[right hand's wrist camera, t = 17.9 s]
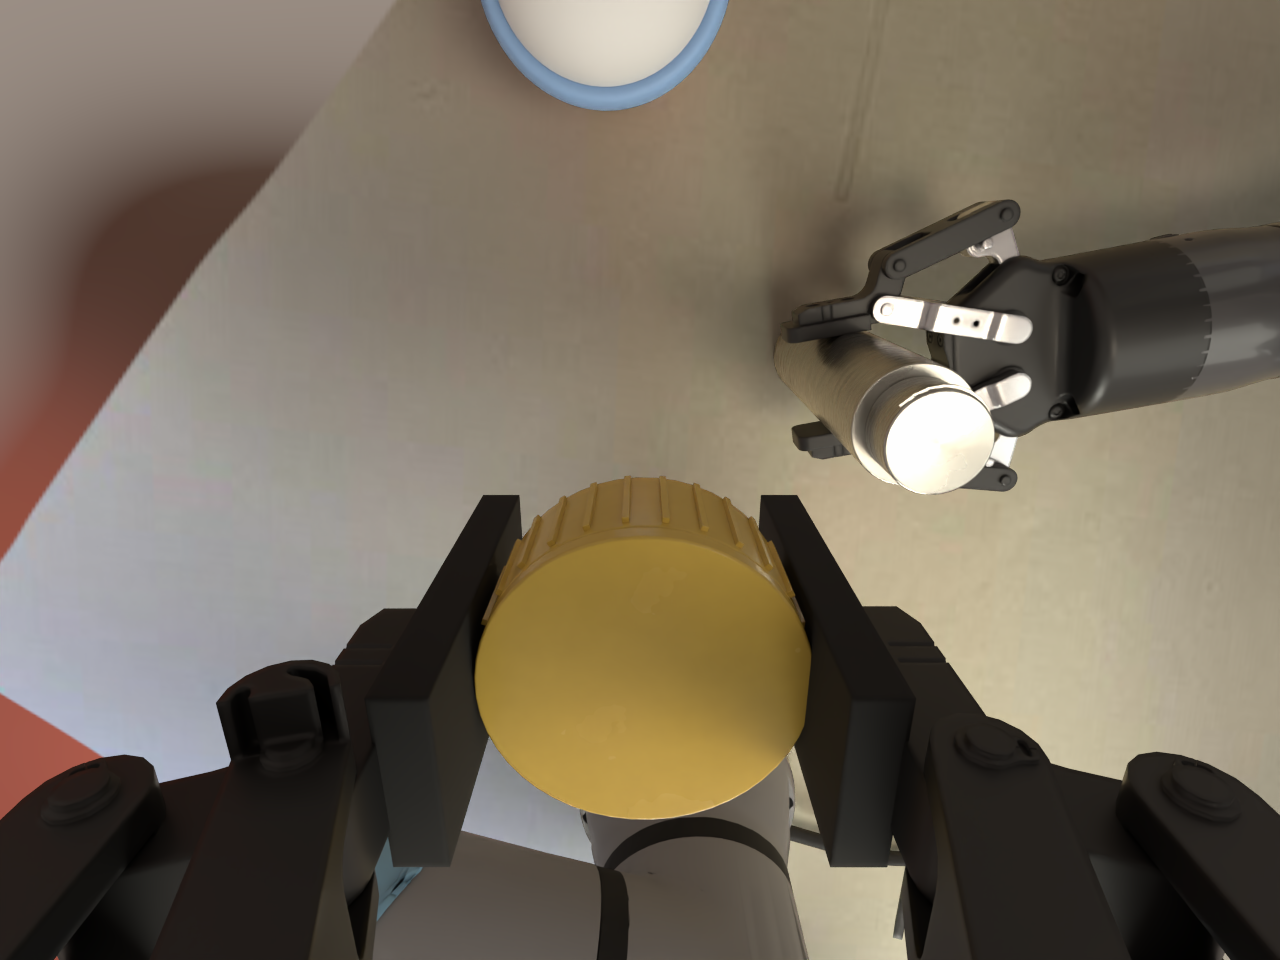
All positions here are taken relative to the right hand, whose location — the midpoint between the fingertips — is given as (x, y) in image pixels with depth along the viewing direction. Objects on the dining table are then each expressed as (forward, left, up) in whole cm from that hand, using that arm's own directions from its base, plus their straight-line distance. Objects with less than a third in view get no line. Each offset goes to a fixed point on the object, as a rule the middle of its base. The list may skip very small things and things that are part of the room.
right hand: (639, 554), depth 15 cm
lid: (0, 0, +4) cm, 4 cm away
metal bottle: (-8, -6, -26) cm, 28 cm away
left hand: (-6, -4, -19) cm, 20 cm away
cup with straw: (+11, -11, -26) cm, 30 cm away
